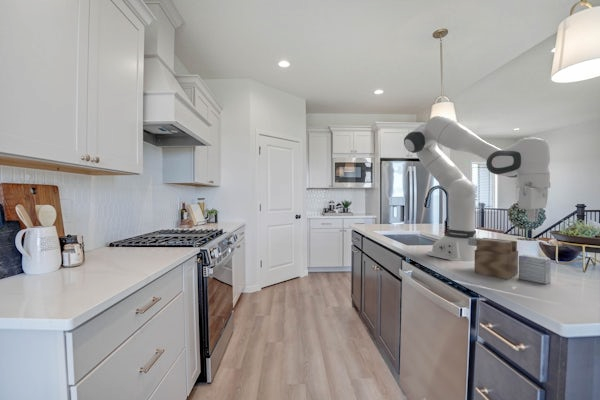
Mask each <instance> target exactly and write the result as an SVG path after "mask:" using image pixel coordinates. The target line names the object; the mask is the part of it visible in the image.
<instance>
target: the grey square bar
mask: <svg viewBox="0 0 600 400" xmlns="http://www.w3.org/2000/svg"><path fill="white" fill-rule="evenodd" d="M483 238H484V237H481V238H480V237H476V238H474V237H470V238H468V245H472V246H476V243H477V239H479V240H488V241H497V242H506V243H512V242H511V241H512V240H510V241H502V240H503V239H501V240H493V239H494V238H491V239H483Z"/></svg>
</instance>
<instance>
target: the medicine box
mask: <svg viewBox="0 0 600 400" xmlns="http://www.w3.org/2000/svg"><path fill="white" fill-rule="evenodd" d="M551 261H552V260H551V258H550V257H545V256H537V255H530V254H524V253H523V254H521V255H518V279H519V280H524V281H528V282H529V281H530V282H534V283H539V284H543V285H548V284H549V283H551V282H552V281H551V275H552V274H551V268H552V267H551V265H552V264H551Z"/></svg>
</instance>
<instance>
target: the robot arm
mask: <svg viewBox="0 0 600 400" xmlns="http://www.w3.org/2000/svg"><path fill="white" fill-rule="evenodd" d="M438 144H439V145H441V146H443V147H445V148H448V149H451V150H454V151H459V152H463V153H469V154H472V155H476V156H478V157H480V158H482V159H484V160H485V161H486V163H485V164H486V169H487V170H488V171H489V173H491V174H494V175H497V176H504V177H508V178H516V188H517V189H518V198H517V199H518V201H517V202H518V203H517V206H518V207H517V208H518V209H519V210H526V216H527V221H528V222H530V223H531V222H533V223H535V222H538V215H539V213H540V211H539V210H540V209H545V208H547V204H548V195H549V189H550V188H551V182H550V178H551V177H550V176H551V175H550V174H551V173H550V170H549V169H550V168H549V166H550V163H551V156H550V155H551V151H550V145H549V143H548V141H547V140H546V139H543V138H541V137H540V138H538V137H524V138H520V139H519V140H518V141H516V142H515V143H513V144H511V145H510V146H508V147H506V148H503V149H502V148H499V147H497V146H495V145H493V144H491V143H489V142H487V141H485V140H484V139H482V138H480V137H479V136H478V135H476V134H475V133H474V132H473V131H471V130H470V129H469V128H467V127H466V126H464V125H463V124H461V123H459V122H458V121H456V120H453V119H450V118H448V117H444V116H440V115H435V116H432V117H431V118H430V119H428V120H427V121H426V122H424V123H422V124H420V125H419V126H417V127H416V128H415V129H413V130H412V131H410V132H409V133H407V134H406V136H404V138H403V145H404V147H405V149H406V150H407V151H408V152H410V153H411V154H412V153H413V154H416V156H417V158H418V159H419V161H420V163H421V164H422V165H423V167H424V168H425V169H426V170H427V171H428V173H429V174H430V175H431V176H432V177H433V178H434V179H435V180H436V181H437V183H438V184H440V185H441V187H442V188H443V189H444V190H445V191H446V192H447V193H448V228H447V229H445V230H444V231H443V234H444V236H443V237H441V238H439V239H438V240H436V241H435V242H434V243H433V244H432V249H431V250H430V251H427V254H426V255H427V256H431V257H435V258H440V259H443V260H444V259H445V260H449V261H452V262H453V261H454V262H475V250H476V246H472V245H468V238H470V237H474V238H477V230H476V205H477V204H476V200H477V195H476V193H477V192H476V191H477V188H476V186H475V185H476V184H474V182H472V181H471V180H470V179H469V178H467V177H466V175H465V174H464V173H463V172H462V171H461V170H460V168H458V166H457V165H456V164H455V163H454V162H453V161H452V160H451V159H450V158H449V157H448V156H447V154H446V153H444V151H442V150H441V149H440V148H439V145H438Z"/></svg>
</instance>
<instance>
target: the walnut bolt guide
mask: <svg viewBox="0 0 600 400" xmlns="http://www.w3.org/2000/svg"><path fill="white" fill-rule="evenodd" d="M482 238H483V239H493V240H502V241H511V242H512V243H506V242H497V241H488V240H479V239H477V243H476V250H475V261H474V274H478V275H484V276H488V277H493V278H498V279H499V278H500V279H505V280H508V281H509V280H511V279H512V278H513V277H515V276H517V275H519V250H518V241H517V240H509V239H500V238H491V237H490V238H489V237H482Z"/></svg>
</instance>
